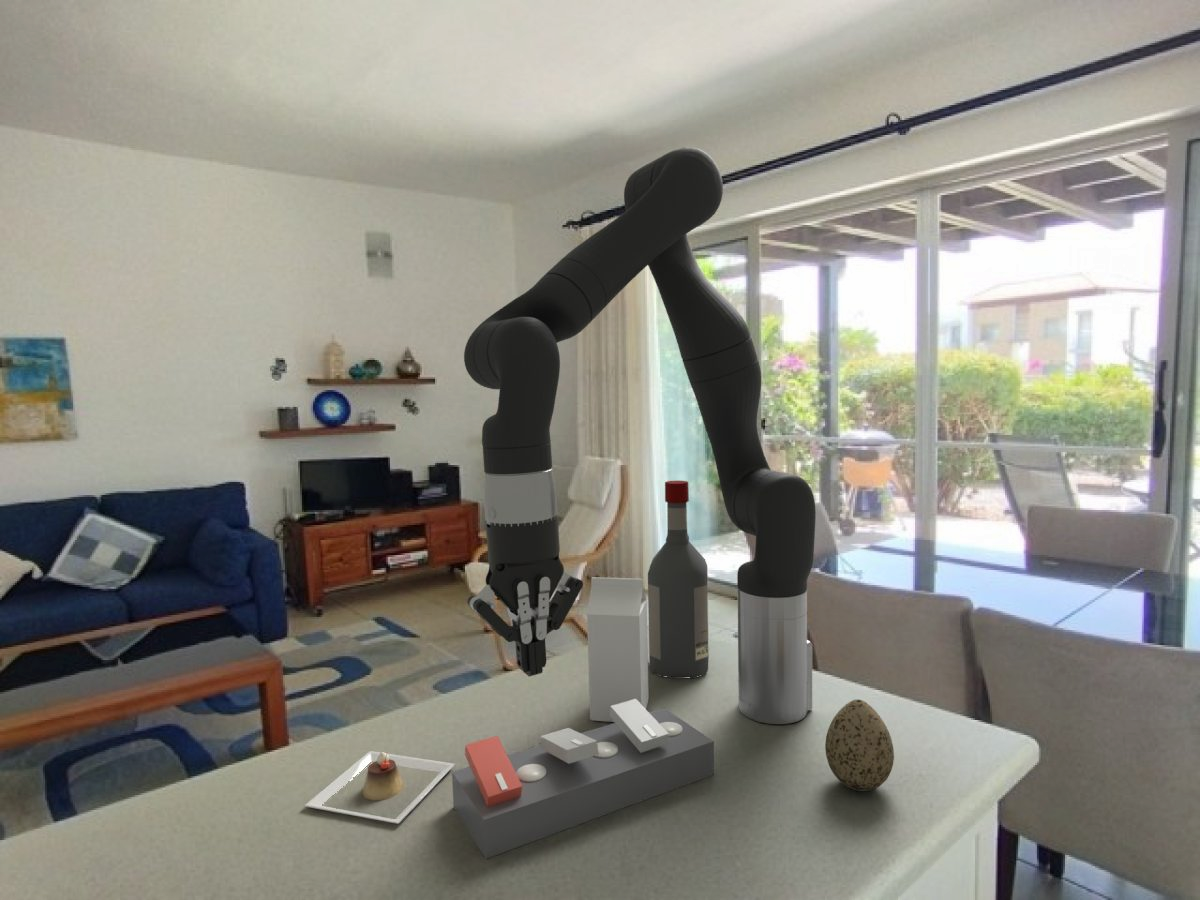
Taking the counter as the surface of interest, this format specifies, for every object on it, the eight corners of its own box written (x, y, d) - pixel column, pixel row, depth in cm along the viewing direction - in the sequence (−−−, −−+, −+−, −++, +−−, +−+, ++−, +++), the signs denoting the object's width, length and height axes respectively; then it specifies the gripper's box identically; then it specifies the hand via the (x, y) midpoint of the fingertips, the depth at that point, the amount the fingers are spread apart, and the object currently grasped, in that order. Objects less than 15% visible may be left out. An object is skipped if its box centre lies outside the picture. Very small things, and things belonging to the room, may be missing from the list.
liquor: (648, 677, 109) (644, 486, 107) (653, 655, 118) (650, 478, 116) (708, 680, 108) (705, 486, 105) (708, 657, 117) (706, 478, 114)
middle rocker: (570, 740, 82) (568, 726, 82) (598, 754, 76) (596, 739, 76) (541, 748, 80) (540, 735, 80) (568, 763, 74) (567, 748, 74)
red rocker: (496, 745, 77) (497, 734, 76) (520, 795, 72) (522, 785, 71) (464, 754, 75) (465, 743, 75) (487, 807, 70) (488, 796, 69)
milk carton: (641, 725, 94) (638, 586, 92) (589, 721, 96) (585, 584, 94) (648, 701, 101) (646, 572, 99) (600, 698, 102) (596, 570, 101)
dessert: (399, 833, 73) (396, 789, 73) (303, 815, 77) (301, 773, 77) (455, 772, 85) (453, 734, 84) (370, 759, 88) (368, 722, 88)
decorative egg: (815, 791, 78) (815, 704, 77) (837, 762, 84) (837, 681, 83) (882, 813, 74) (883, 722, 73) (901, 782, 79) (902, 696, 78)
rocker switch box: (665, 737, 91) (664, 706, 90) (714, 774, 82) (713, 739, 81) (453, 806, 77) (451, 770, 76) (485, 858, 68) (483, 817, 68)
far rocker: (634, 708, 86) (636, 697, 86) (667, 744, 80) (668, 732, 80) (609, 716, 84) (610, 705, 84) (640, 752, 78) (642, 741, 78)
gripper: (560, 500, 80) (569, 647, 82) (448, 517, 73) (460, 677, 75) (594, 508, 74) (603, 668, 75) (474, 528, 67) (487, 703, 69)
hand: (532, 672), depth 75 cm, fingers closed
